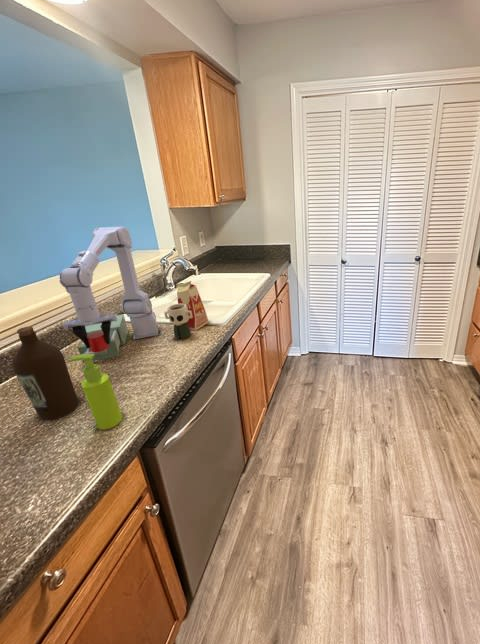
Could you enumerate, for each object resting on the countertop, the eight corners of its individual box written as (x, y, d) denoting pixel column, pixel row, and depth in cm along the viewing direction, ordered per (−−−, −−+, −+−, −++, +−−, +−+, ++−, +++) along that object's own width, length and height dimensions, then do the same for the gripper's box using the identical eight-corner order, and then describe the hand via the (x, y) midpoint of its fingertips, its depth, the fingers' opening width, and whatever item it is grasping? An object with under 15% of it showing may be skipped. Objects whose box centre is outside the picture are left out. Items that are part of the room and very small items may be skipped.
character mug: (166, 341, 127) (159, 310, 122) (173, 333, 134) (166, 303, 129) (193, 340, 127) (187, 309, 122) (199, 332, 133) (193, 303, 128)
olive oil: (65, 394, 97) (33, 318, 87) (89, 401, 94) (59, 322, 84) (27, 417, 88) (-13, 335, 78) (52, 425, 85) (14, 341, 75)
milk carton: (209, 321, 143) (201, 278, 135) (196, 330, 135) (187, 284, 127) (191, 319, 146) (183, 277, 138) (178, 328, 138) (168, 283, 130)
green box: (124, 344, 126) (119, 326, 123) (88, 351, 122) (81, 333, 119) (128, 331, 138) (123, 314, 135) (95, 336, 134) (89, 319, 131)
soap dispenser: (99, 415, 87) (75, 351, 79) (126, 413, 88) (104, 348, 80) (88, 430, 82) (61, 363, 74) (116, 428, 83) (92, 360, 74)
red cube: (110, 343, 109) (105, 330, 107) (107, 350, 104) (103, 336, 102) (92, 346, 107) (88, 333, 105) (89, 353, 103) (84, 339, 101)
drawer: (117, 361, 112) (112, 346, 110) (80, 369, 109) (74, 353, 106) (123, 341, 127) (118, 327, 125) (90, 347, 124) (85, 333, 121)
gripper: (54, 314, 94) (70, 355, 100) (109, 306, 99) (121, 345, 104) (61, 306, 100) (75, 345, 106) (113, 298, 105) (124, 336, 110)
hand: (98, 344), depth 105 cm, fingers closed on red cube, 5 cm apart
